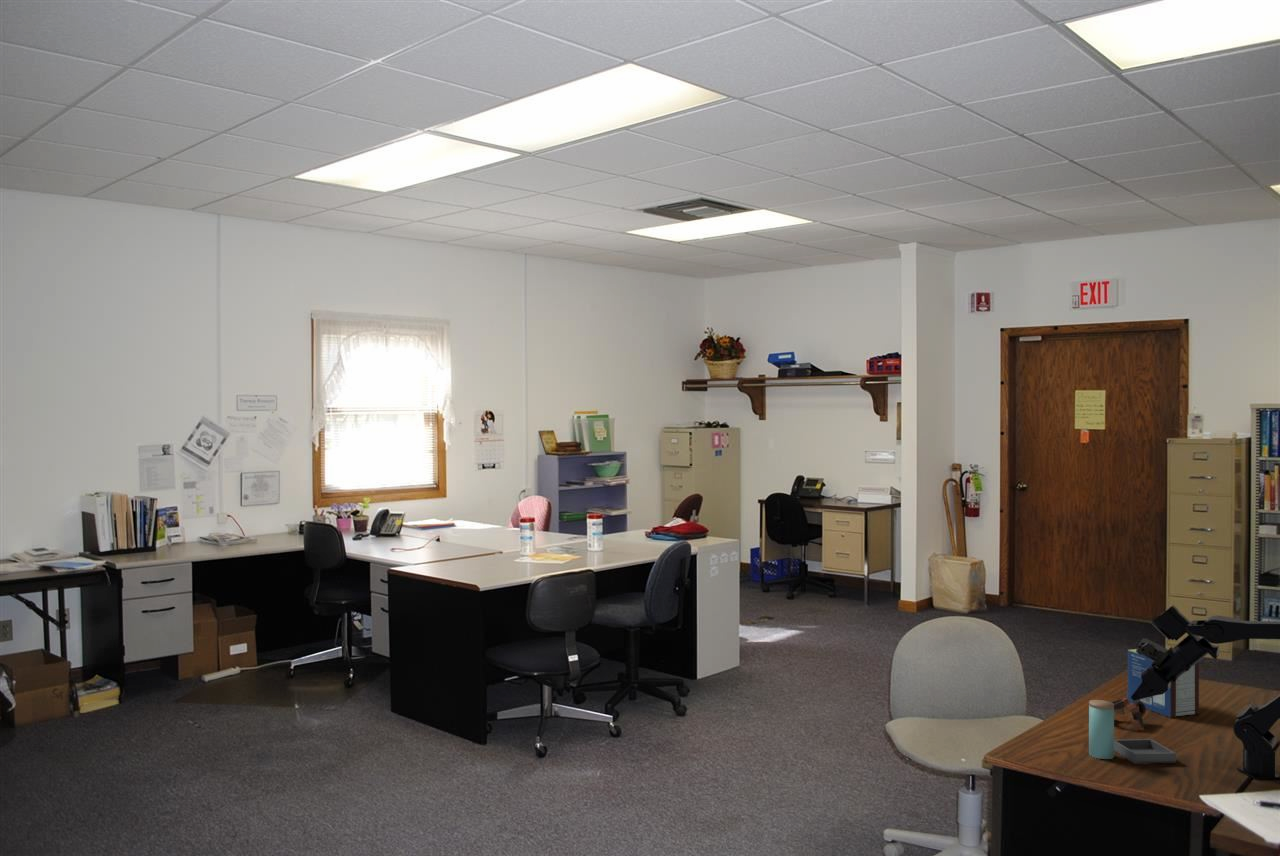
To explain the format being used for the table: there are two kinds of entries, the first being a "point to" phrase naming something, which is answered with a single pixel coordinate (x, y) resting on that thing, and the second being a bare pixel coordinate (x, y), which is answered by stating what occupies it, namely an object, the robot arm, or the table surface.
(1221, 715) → the table surface
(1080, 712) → the table surface
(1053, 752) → the table surface
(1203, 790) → the table surface
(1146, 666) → the protein box
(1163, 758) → the tray
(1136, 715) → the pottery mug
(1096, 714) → the canister
